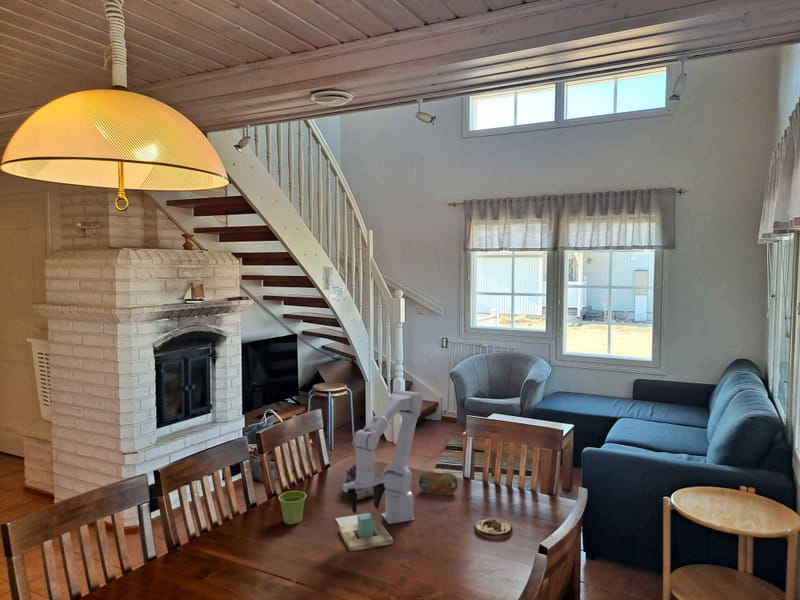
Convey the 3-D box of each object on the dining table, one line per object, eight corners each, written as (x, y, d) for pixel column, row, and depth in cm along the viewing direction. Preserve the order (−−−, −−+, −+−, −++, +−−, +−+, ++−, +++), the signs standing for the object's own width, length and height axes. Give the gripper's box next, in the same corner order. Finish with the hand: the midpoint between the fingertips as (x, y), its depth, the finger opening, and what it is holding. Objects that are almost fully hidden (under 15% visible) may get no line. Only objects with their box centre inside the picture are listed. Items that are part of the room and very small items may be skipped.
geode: (338, 484, 225) (341, 459, 226) (366, 485, 228) (369, 460, 228) (346, 502, 206) (349, 475, 206) (376, 503, 209) (380, 476, 209)
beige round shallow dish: (522, 528, 187) (522, 516, 187) (506, 547, 174) (506, 534, 174) (481, 518, 195) (481, 506, 194) (463, 535, 182) (463, 523, 182)
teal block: (369, 533, 182) (369, 512, 182) (373, 539, 179) (373, 517, 178) (357, 535, 181) (357, 514, 181) (361, 541, 177) (361, 519, 177)
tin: (418, 492, 217) (418, 471, 216) (420, 489, 220) (420, 468, 219) (457, 497, 212) (457, 475, 212) (458, 493, 215) (458, 472, 215)
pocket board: (379, 524, 189) (379, 520, 189) (393, 543, 176) (393, 539, 176) (338, 531, 184) (338, 527, 184) (350, 551, 171) (350, 546, 171)
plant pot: (300, 528, 186) (300, 502, 186) (274, 525, 188) (273, 500, 187) (310, 516, 195) (310, 492, 195) (285, 513, 197) (285, 489, 197)
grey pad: (357, 516, 195) (357, 514, 195) (364, 525, 188) (364, 524, 188) (335, 519, 193) (335, 518, 193) (341, 529, 185) (341, 528, 185)
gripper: (380, 460, 185) (380, 501, 186) (339, 467, 179) (339, 508, 180) (389, 467, 179) (389, 509, 180) (347, 474, 173) (347, 517, 173)
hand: (365, 509), depth 179 cm, fingers open, 7 cm apart
